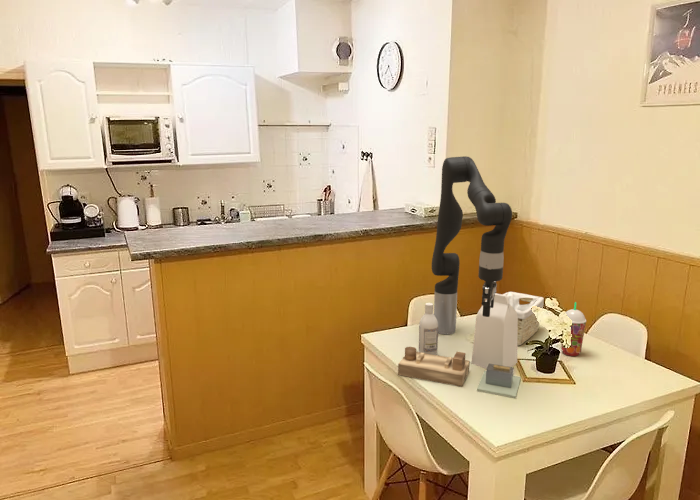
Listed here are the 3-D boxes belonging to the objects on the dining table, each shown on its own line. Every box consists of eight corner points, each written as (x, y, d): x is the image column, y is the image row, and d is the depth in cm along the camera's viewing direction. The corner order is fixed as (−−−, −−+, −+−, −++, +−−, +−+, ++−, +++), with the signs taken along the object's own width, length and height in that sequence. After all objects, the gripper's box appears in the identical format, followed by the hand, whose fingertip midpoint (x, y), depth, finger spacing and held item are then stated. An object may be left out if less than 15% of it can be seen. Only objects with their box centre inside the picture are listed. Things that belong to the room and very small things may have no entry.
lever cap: (488, 377, 174) (488, 361, 173) (512, 381, 171) (513, 365, 170) (485, 383, 170) (486, 367, 169) (510, 388, 167) (512, 372, 166)
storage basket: (505, 322, 227) (507, 289, 224) (543, 330, 217) (546, 296, 214) (483, 339, 208) (484, 304, 205) (522, 349, 199) (525, 312, 195)
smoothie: (558, 355, 192) (563, 304, 188) (558, 347, 200) (563, 297, 195) (583, 359, 189) (588, 307, 185) (582, 350, 197) (587, 300, 192)
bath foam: (441, 355, 193) (442, 304, 189) (427, 360, 189) (428, 308, 185) (428, 349, 199) (429, 299, 194) (414, 353, 195) (415, 303, 190)
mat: (484, 372, 179) (484, 370, 179) (520, 379, 175) (520, 376, 174) (476, 391, 167) (477, 388, 167) (515, 398, 162) (515, 396, 162)
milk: (471, 363, 186) (474, 294, 181) (486, 353, 195) (490, 287, 189) (502, 373, 178) (506, 302, 173) (517, 363, 187) (522, 294, 181)
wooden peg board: (408, 360, 189) (409, 340, 187) (469, 371, 180) (470, 350, 179) (398, 374, 178) (398, 353, 177) (462, 386, 170) (463, 364, 168)
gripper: (482, 257, 174) (480, 303, 178) (475, 269, 161) (472, 317, 166) (505, 260, 171) (502, 306, 175) (500, 271, 159) (496, 321, 163)
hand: (488, 311), depth 170 cm, fingers open, 8 cm apart
